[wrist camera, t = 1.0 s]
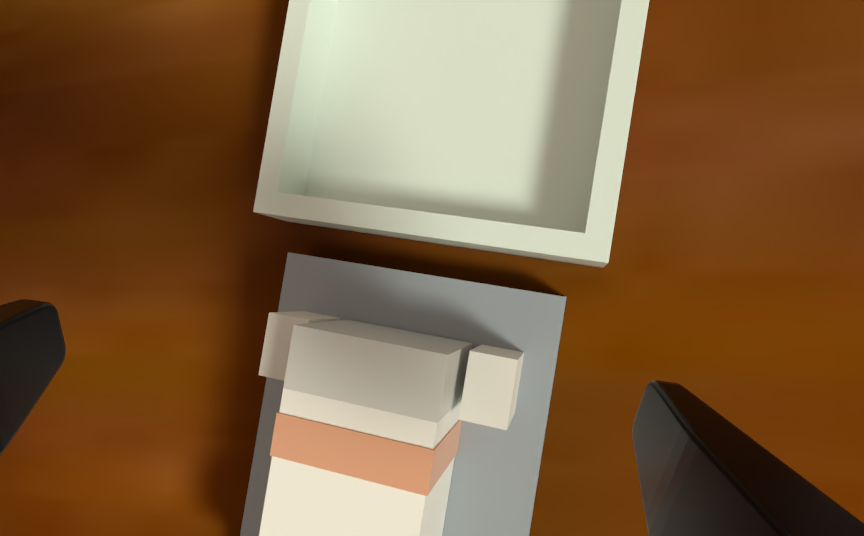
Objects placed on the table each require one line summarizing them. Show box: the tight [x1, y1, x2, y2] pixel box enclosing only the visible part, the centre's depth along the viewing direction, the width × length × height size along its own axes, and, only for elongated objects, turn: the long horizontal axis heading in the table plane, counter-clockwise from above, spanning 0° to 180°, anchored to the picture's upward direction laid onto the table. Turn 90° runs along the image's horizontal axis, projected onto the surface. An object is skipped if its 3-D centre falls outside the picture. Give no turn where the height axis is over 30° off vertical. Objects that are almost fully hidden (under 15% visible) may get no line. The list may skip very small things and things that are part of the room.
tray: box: [253, 0, 649, 268], centre depth 20 cm, size 16×12×2 cm
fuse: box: [259, 319, 473, 536], centre depth 17 cm, size 10×5×4 cm, turn 171°
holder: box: [240, 252, 566, 536], centre depth 18 cm, size 14×10×4 cm
